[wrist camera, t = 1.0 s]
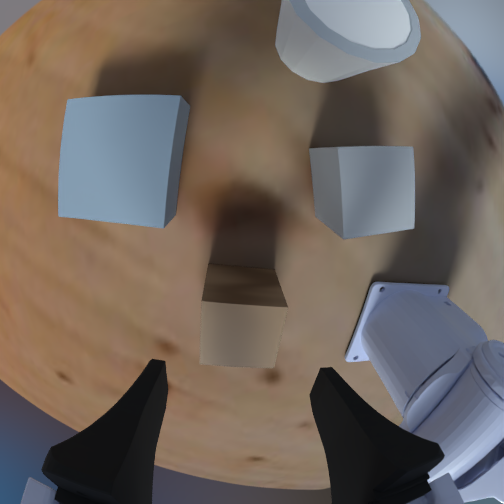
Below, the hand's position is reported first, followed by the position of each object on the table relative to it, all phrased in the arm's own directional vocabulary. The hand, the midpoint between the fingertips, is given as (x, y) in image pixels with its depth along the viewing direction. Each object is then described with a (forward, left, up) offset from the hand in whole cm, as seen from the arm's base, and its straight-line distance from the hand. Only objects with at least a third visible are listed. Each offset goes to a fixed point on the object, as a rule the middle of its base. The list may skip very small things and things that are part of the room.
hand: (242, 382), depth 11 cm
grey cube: (-6, -9, -8) cm, 14 cm away
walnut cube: (0, 0, -8) cm, 8 cm away
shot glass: (-3, -18, -9) cm, 20 cm away
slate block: (+8, -9, -9) cm, 15 cm away
